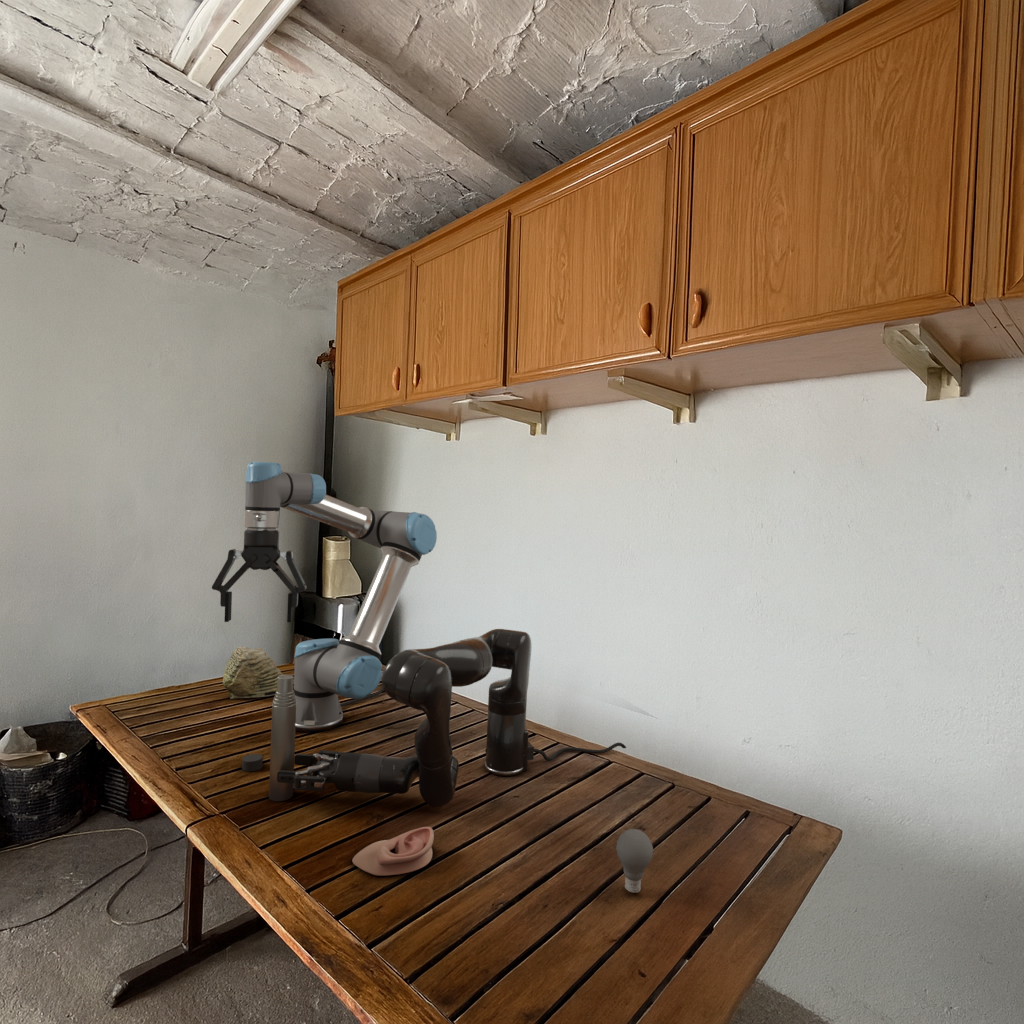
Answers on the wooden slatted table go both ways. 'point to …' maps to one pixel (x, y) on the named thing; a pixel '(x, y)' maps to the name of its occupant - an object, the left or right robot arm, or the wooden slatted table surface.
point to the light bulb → (634, 857)
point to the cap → (252, 762)
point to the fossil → (250, 674)
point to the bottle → (282, 737)
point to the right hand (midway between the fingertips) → (286, 767)
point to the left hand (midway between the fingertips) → (259, 621)
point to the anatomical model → (397, 853)
